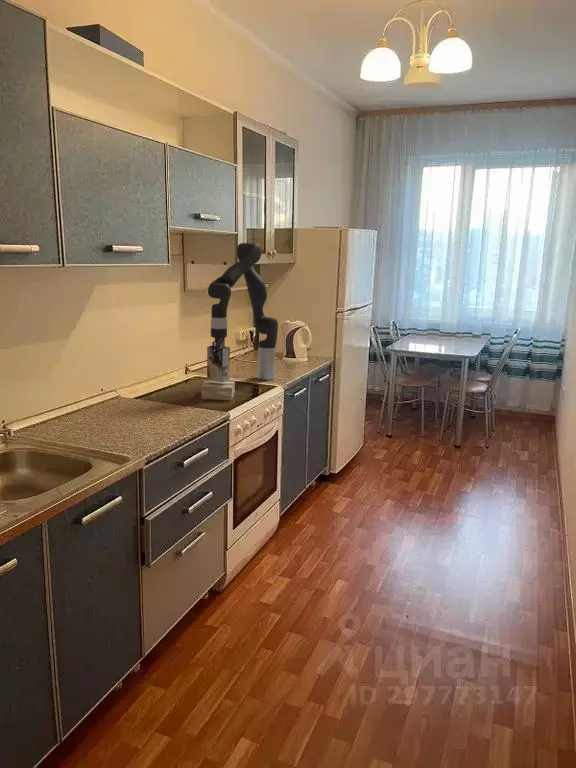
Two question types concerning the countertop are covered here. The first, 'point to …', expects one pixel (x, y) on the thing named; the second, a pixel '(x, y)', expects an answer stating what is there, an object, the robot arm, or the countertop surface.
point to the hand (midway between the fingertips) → (218, 361)
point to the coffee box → (218, 365)
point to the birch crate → (218, 390)
